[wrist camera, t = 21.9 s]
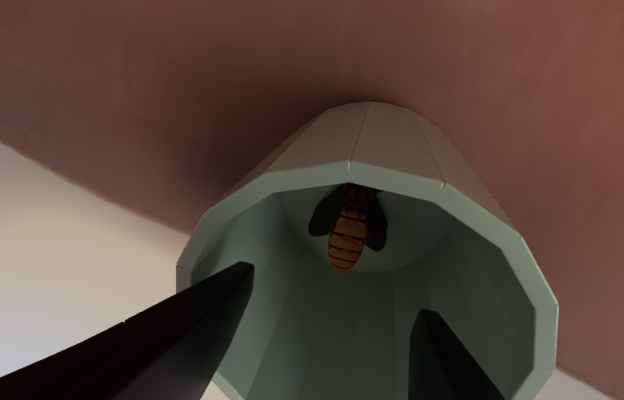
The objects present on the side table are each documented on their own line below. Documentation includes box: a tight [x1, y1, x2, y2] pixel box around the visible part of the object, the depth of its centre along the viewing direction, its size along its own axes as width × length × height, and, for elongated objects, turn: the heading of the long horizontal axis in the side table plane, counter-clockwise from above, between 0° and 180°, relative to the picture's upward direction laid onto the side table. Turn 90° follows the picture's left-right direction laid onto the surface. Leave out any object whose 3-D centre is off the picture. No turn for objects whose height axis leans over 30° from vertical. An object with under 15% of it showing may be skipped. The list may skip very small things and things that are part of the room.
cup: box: [176, 101, 559, 400], centre depth 12 cm, size 9×9×9 cm
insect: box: [308, 182, 388, 275], centre depth 13 cm, size 4×6×5 cm, turn 171°
